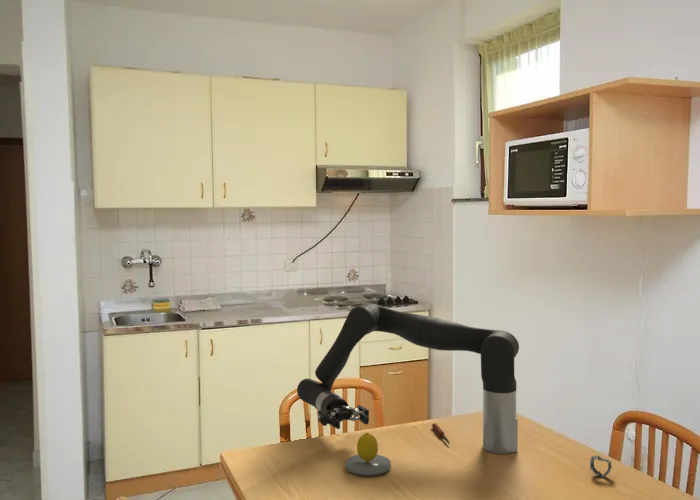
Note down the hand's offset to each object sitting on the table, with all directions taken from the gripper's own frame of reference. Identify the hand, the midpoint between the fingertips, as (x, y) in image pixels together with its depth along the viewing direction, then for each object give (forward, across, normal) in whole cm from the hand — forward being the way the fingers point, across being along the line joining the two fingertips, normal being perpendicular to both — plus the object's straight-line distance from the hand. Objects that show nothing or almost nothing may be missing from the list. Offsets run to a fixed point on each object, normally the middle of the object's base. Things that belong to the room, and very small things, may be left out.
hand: (353, 423), depth 173 cm
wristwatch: (+39, +51, +9) cm, 65 cm away
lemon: (+9, 0, +8) cm, 12 cm away
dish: (+10, 0, +9) cm, 13 cm away
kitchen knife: (-2, +30, +10) cm, 31 cm away
